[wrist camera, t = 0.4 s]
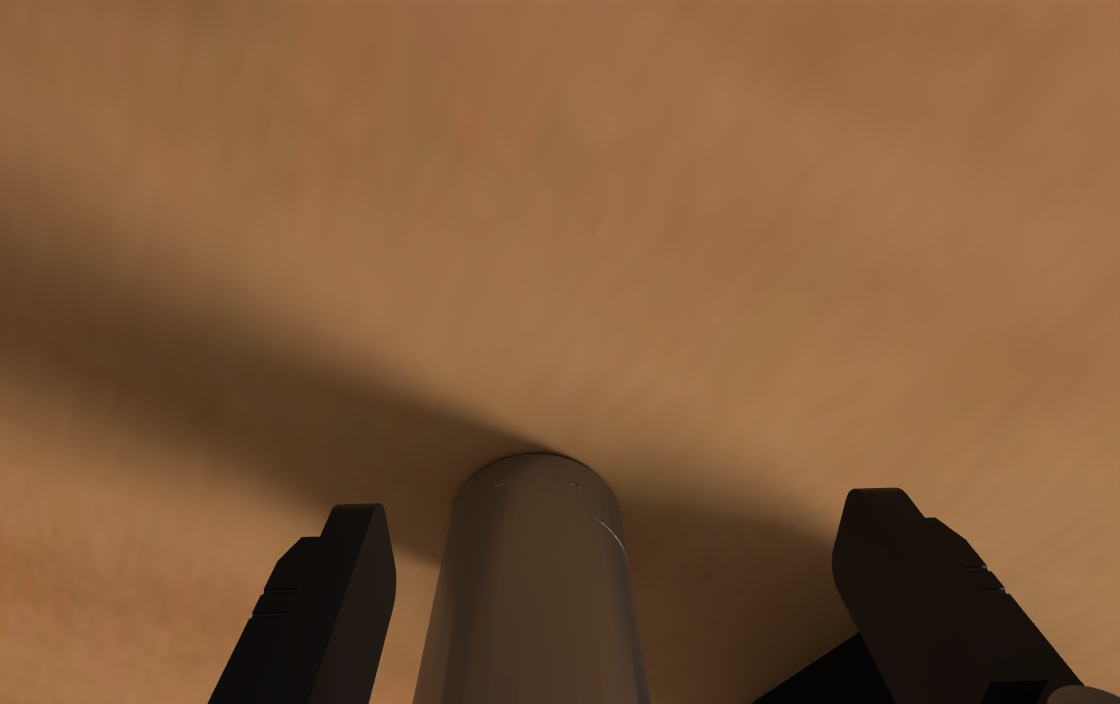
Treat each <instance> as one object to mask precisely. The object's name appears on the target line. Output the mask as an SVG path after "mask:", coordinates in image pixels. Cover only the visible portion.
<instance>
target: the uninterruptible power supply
mask: <svg viewBox="0 0 1120 704" xmlns="http://www.w3.org/2000/svg"><path fill="white" fill-rule="evenodd" d="M752 704H896V703H895V701H894V699H893V697H892V695H891V693H890V691H889V689H888V687H887V685H886V683H885V681H884V679H883V677H882V675H881V673H880V671H879V670H878V668H877V666H876V664H875V662H874V660H873V658H872V656H871V654H870V652H869V650H868V648H867V646H866V644H865V642H864V640H863V638H862V636H861V635H860V633H857V634H856V635H854V636H853V637H851V638H850V639H848V640H847V641H845V642H844V643H842V644H840V645H839V646H837V647H836V648H834V649H833V650H831V651H830V652H828V653H827V654H825V655H824V656H822V657H821V658H819V659H818V660H816V661H815V662H813V663H812V664H810V665H809V666H807V667H806V668H804V669H803V670H801V671H800V672H798V673H797V674H795V675H794V676H792V677H791V678H789V679H788V680H786V681H785V682H783V683H782V684H780V685H779V686H777V687H776V688H774V689H773V690H771V691H770V692H768V693H767V694H765V695H764V696H762V697H761V698H759V699H758V700H756V701H755V702H753V703H752Z"/></svg>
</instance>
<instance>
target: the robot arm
mask: <svg viewBox="0 0 1120 704" xmlns="http://www.w3.org/2000/svg"><path fill="white" fill-rule="evenodd" d="M832 571H833V577H834V581H835V584H836V587H837V589H838V592H839V594H840V596H841V598H842V600H843V602H844V603H845V605H846V607H847V609H848V611H849V613H850V615H851V617H852V619H853V621H854V623H855V625H856V627H857V629H858V631H859V633H860V635H861V636H862V638H863V640H864V642H865V644H866V646H867V648H868V650H869V652H870V654H871V656H872V658H873V660H874V662H875V664H876V666H877V668H878V670H879V671H880V673H881V675H882V677H883V679H884V681H885V683H886V685H887V687H888V689H889V691H890V693H891V695H892V697H893V699H894V701H895V703H896V704H1120V697H1118V696H1116V695H1114V694H1111V693H1109V692H1106V691H1103V690H1100V689H1096V688H1093V687H1088V686H1085V685H1084V684H1083V683H1082V682H1081V681H1080V680H1079V679H1078V678H1077V676H1076V675H1075V674H1074V673H1073V671H1072V670H1071V669H1070V668H1069V666H1068V665H1067V664H1066V663H1065V662H1064V660H1063V659H1062V658H1061V657H1060V655H1059V654H1058V653H1057V652H1056V650H1055V649H1054V648H1053V647H1052V645H1051V644H1050V643H1049V642H1048V641H1047V639H1046V638H1045V637H1044V636H1043V634H1042V633H1041V632H1040V631H1039V629H1038V628H1037V627H1036V626H1035V624H1034V623H1033V622H1032V621H1031V620H1030V618H1029V617H1028V616H1027V615H1026V613H1025V612H1024V611H1023V610H1022V608H1021V607H1020V606H1019V605H1018V604H1017V602H1016V601H1015V600H1014V599H1013V597H1012V596H1011V595H1010V594H1006V592H1005V587H1004V586H1003V585H1002V584H1001V583H1000V581H999V580H998V579H997V578H996V576H995V575H994V574H993V573H992V571H988V570H987V565H986V564H985V563H984V562H983V560H982V559H981V558H980V557H979V555H978V554H977V553H976V552H975V550H974V549H973V548H972V547H971V546H970V544H969V543H968V542H967V541H966V540H965V539H964V538H963V537H961V536H960V535H959V534H957V533H956V532H954V531H953V530H952V529H950V528H949V527H948V526H946V525H945V524H943V523H942V522H941V521H939V520H938V519H937V518H925V517H924V516H923V515H922V513H921V512H920V511H919V510H918V508H917V507H916V506H915V504H914V503H913V502H912V500H911V499H910V498H909V496H908V495H907V494H906V493H905V492H904V491H903V490H902V489H900V488H863V489H852V490H851V491H850V492H849V493H848V495H847V498H846V501H845V505H844V509H843V513H842V517H841V521H840V525H839V529H838V533H837V537H836V541H835V545H834V549H833V553H832ZM395 594H396V568H395V562H394V557H393V552H392V546H391V541H390V536H389V531H388V525H387V520H386V515H385V510H384V507H383V506H382V504H380V503H376V504H340V505H335V506H334V507H333V509H332V511H331V513H330V515H329V517H328V520H327V522H326V524H325V527H324V529H323V531H322V533H321V536H320V537H301V538H300V539H299V540H298V541H297V542H296V543H295V544H294V545H293V546H292V547H291V548H290V549H289V550H288V551H287V552H286V553H285V554H284V555H283V556H282V557H281V558H280V559H279V560H278V561H277V563H276V565H275V567H274V569H273V571H272V573H271V576H270V578H269V580H268V582H267V584H266V586H265V588H264V594H263V595H261V596H260V598H259V600H258V602H257V604H256V606H255V608H254V610H253V612H252V614H253V615H252V618H251V619H249V620H248V622H247V624H246V626H245V628H244V630H243V632H242V634H241V637H240V639H239V641H238V643H237V645H236V647H235V649H234V651H233V653H232V655H231V657H230V659H229V661H228V663H227V665H226V667H225V669H224V671H223V673H222V675H221V677H220V679H219V681H218V683H217V685H216V687H215V689H214V691H213V693H212V695H211V698H210V700H209V702H208V704H369V700H370V696H371V692H372V688H373V684H374V680H375V677H376V673H377V669H378V665H379V661H380V657H381V653H382V649H383V645H384V641H385V638H386V634H387V630H388V626H389V622H390V618H391V614H392V610H393V606H394V601H395ZM413 704H651V700H650V694H649V688H648V682H647V676H646V670H645V664H644V658H643V651H642V645H641V639H640V633H639V627H638V621H637V615H636V609H635V603H634V597H633V591H632V584H631V578H630V572H629V564H628V559H627V553H626V547H625V541H624V535H623V530H622V524H621V518H620V512H619V506H618V503H617V501H616V499H615V497H614V494H613V492H612V491H611V489H610V488H609V487H608V486H607V484H606V483H605V482H604V480H603V479H602V478H600V477H599V476H598V475H597V474H595V473H594V472H593V471H592V470H590V469H589V468H587V467H585V466H583V465H581V464H579V463H577V462H575V461H573V460H569V459H566V458H563V457H559V456H554V455H545V454H528V455H518V456H514V457H510V458H506V459H502V460H500V461H497V462H495V463H493V464H491V465H489V466H487V467H485V468H484V469H482V470H481V471H480V472H478V473H477V474H476V475H474V476H473V477H472V478H471V479H470V480H469V481H468V482H467V483H466V485H465V486H464V487H463V488H462V489H461V491H460V493H459V495H458V497H457V499H456V501H455V503H454V508H453V512H452V517H451V522H450V526H449V531H448V536H447V540H446V545H445V550H444V555H443V559H442V562H441V567H440V572H439V577H438V582H437V587H436V592H435V596H434V601H433V606H432V611H431V616H430V621H429V626H428V630H427V635H426V640H425V645H424V650H423V655H422V660H421V665H420V669H419V674H418V679H417V684H416V689H415V694H414V699H413Z"/></svg>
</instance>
